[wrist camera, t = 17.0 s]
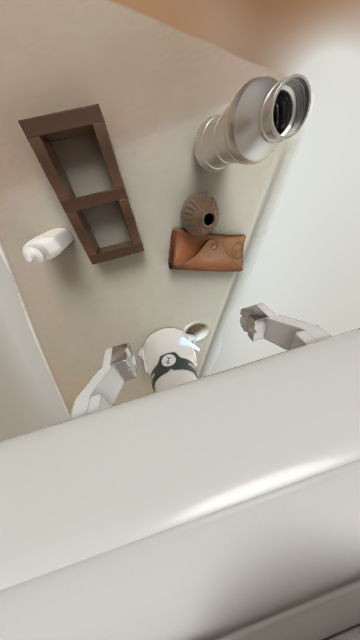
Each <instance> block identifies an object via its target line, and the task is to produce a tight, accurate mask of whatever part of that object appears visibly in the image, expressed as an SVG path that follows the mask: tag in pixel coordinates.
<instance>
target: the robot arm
mask: <svg viewBox="0 0 360 640" xmlns="http://www.w3.org/2000/svg"><path fill="white" fill-rule="evenodd" d="M240 314H241V315H242V317H241V318H240V323H241V327H242V328H243V330H244V331H246V332H248V336H249V337H250V339H251V340H252V341H256V340H260V339H263V338H264V339H266V340H268V341H270V342H272V343H274V344H276V345H278V346H280V347H282V348H284V349H286V350H288V351H285V352H282V353H279V354H276V355H273V356H269V357H266V358H263V359H260V360H257V361H254V362H250V363H247V364H244V365H241V366H238V367H234V368H231V369H228V370H225V371H222V372H219V373H216V374H212V375H209V376H206V377H203V378H200V379H197V372H196V369H195V366H197V358H196V355H195V349H197V350H198V351H199V348H198V347H196V346H195V341H196V338H195V336H194V335H192V334H187V333H185V332H183V331H182V330H179V329H176V328H165V329H161V330H158V331H156V332H154V333H153V334H151V335H150V336H149V337H148V338H147V340H146V341H145V344H144V346H143V347H142V348H141V349H140V350H139V352H138V356H139V357H140V358H141V359H142V360H143V361H144V365H145V371H146V372H147V373H148V374H149V375H150V376H151V382H152V386H153V389H154V391H155V393H152V394H149V395H146V396H143V397H140V398H136V399H133V400H130V401H127V402H124V403H121V404H118V405H114V406H112V405H113V403H114V401H115V400H116V398H117V396H118V394H119V392H120V390H121V388H122V386H123V384H124V381H127V380H130V379H133V378H136V377H137V374H136V368H135V365H136V358H135V355H134V352H133V351H132V350H130V345H129V343H126V344H122V345H118V346H114V347H111V348H108V349H106V350H105V352H104V358H103V364H102V368H101V369H99V370H98V372H97V373H96V374H95V375H94V377H93V378H92V379H91V380H90V382H89V383H88V384H87V385H86V387H85V388H84V389H83V390H82V392H81V393H80V394H79V395H78V397H77V398H76V399H75V400H74V404H73V407H72V411H71V415H70V419H69V420H67V421H64V422H61V423H58V424H54V425H51V426H48V427H45V428H42V429H39V430H36V431H33V432H29V433H26V434H23V435H20V436H16V437H13V438H10V439H6V440H3V441H0V640H360V328H358V329H355V330H351V331H348V332H346V333H342V334H339V335H336V336H333V337H332V336H331V335H330V334H328V333H327V332H326V331H324V330H323V329H321V328H320V327H319V326H317V325H314V324H311V323H307V322H303V321H300V320H296V319H293V318H289V317H285V316H282V315H276V314H275V313H274V312H273V311H272V310H270V309H269V308H268V307H267V306H266V305H265V304H263V303H260V304H257V305H254V306H251V307H247V308H244V309H241V313H240Z"/></svg>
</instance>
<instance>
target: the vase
mask: <svg viewBox="0 0 360 640" xmlns="http://www.w3.org/2000/svg"><path fill="white" fill-rule="evenodd" d="M218 219H219V209H218V205H217V203H216V201H215V200H214V199H213V198H212V197H211V196H210V195H208V194H205V193H196V194H193V195H191V196H190V197H189V198H188V199H187V200H186V201H185V202H184V204H183V206H182V210H181V221H182V224H183V226H184V228H185V229H186V230H187V231H188V232H189V233H190V234H192V235H195V236H204V235H206V234H208V233H210V232H211V231H212V230H213V229H214V228H215V226H216V225H217V222H218Z"/></svg>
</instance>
